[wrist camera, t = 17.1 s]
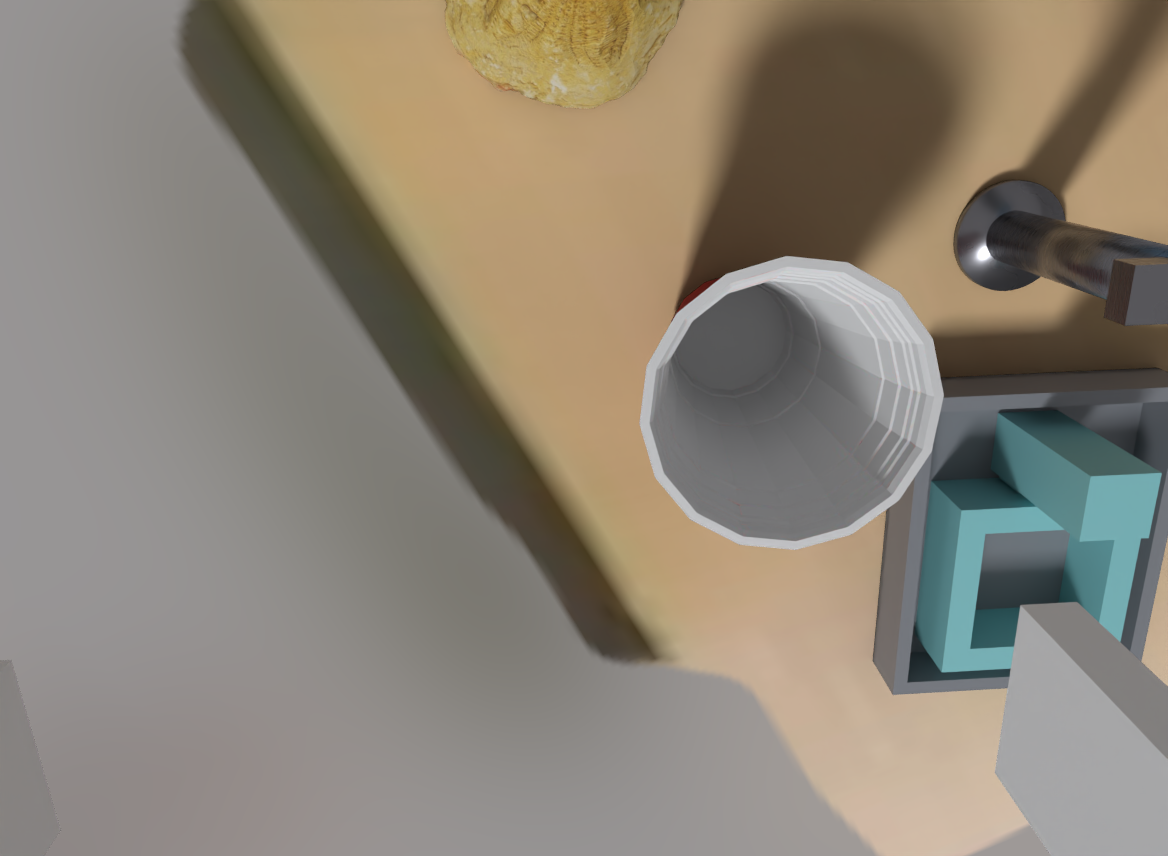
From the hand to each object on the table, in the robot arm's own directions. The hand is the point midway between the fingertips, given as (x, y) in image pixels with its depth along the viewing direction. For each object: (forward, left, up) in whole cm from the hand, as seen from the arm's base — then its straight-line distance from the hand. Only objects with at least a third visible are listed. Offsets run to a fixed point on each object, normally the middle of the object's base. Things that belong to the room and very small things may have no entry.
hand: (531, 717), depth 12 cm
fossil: (-13, +2, -32) cm, 35 cm away
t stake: (-1, +22, -32) cm, 39 cm away
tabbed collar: (+14, +24, -31) cm, 42 cm away
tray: (+14, +24, -32) cm, 42 cm away
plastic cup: (+3, +9, -32) cm, 33 cm away
